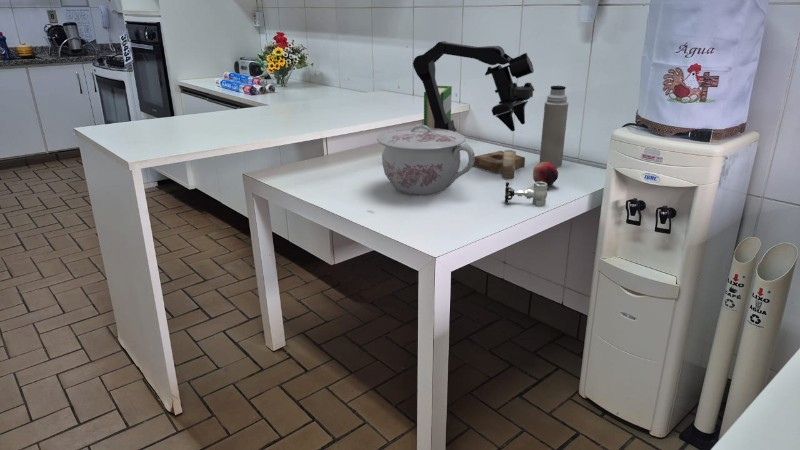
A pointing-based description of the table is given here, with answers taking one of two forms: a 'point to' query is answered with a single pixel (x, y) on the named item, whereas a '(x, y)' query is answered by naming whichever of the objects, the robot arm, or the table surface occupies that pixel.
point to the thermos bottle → (554, 126)
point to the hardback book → (446, 101)
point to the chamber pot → (423, 158)
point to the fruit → (545, 173)
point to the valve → (529, 193)
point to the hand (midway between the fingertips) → (518, 127)
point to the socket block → (496, 162)
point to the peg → (508, 164)
